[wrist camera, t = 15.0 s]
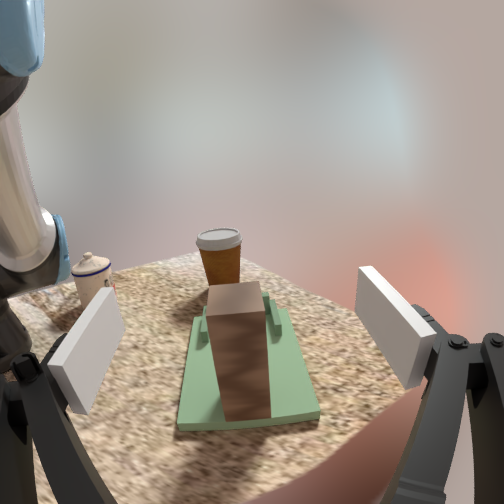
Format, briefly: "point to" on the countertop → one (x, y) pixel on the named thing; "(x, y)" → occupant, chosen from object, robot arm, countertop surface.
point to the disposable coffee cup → (220, 255)
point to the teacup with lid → (92, 277)
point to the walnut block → (240, 349)
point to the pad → (280, 377)
